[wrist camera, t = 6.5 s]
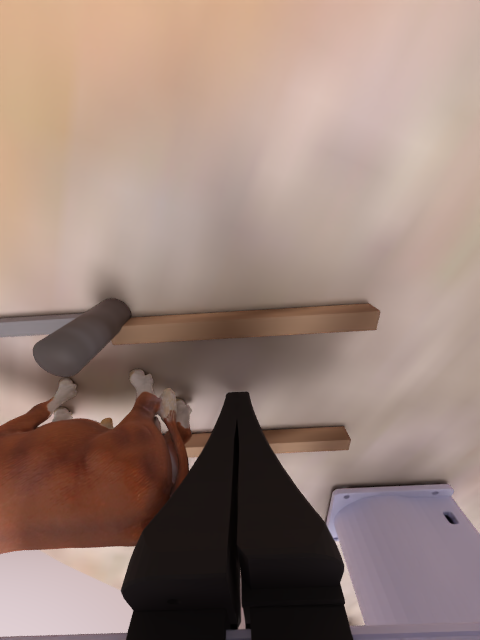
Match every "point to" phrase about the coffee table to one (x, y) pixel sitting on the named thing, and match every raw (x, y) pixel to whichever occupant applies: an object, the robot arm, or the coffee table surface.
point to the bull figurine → (90, 471)
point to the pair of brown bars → (117, 326)
